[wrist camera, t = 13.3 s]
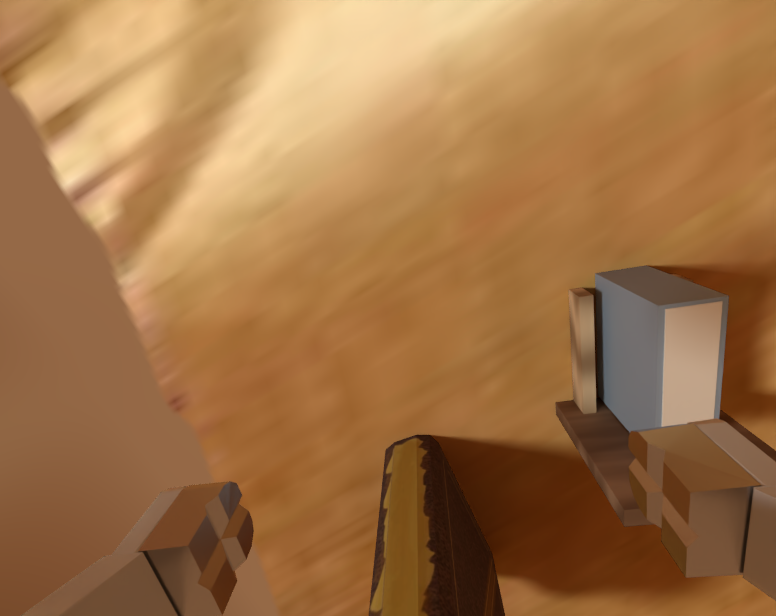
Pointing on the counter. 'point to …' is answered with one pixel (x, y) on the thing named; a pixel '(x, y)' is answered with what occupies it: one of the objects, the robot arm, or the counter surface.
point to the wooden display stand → (607, 418)
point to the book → (429, 540)
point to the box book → (659, 347)
